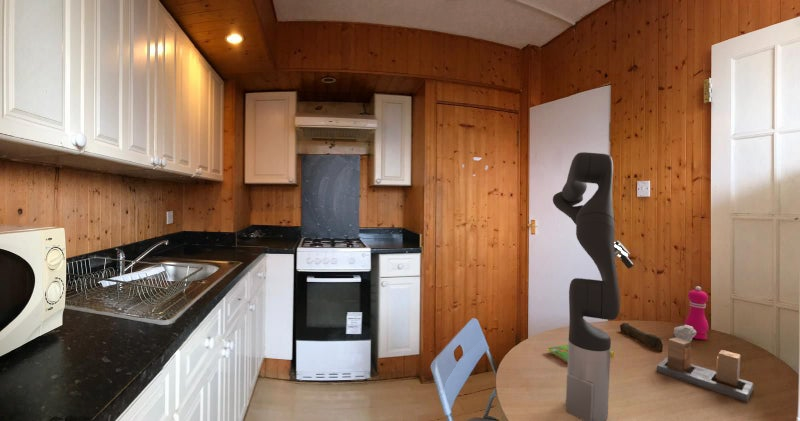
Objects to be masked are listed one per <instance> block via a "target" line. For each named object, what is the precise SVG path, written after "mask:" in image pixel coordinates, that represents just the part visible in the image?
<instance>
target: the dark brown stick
mask: <svg viewBox="0 0 800 421" xmlns="http://www.w3.org/2000/svg"><path fill="white" fill-rule="evenodd" d="M619 329H620V332H621V333H623V334H628V335H629V336H632V337H633V338H635V339H636V340H639V341H641V342H643V343H644V344H645V345H646V346H647V347H648V348H651V349H654V350H656V351H659V352H663V347H664V343H663V340H662V338H660V337H659V336H657V335H655V334H651V333H646V332H644V331H641V330H640V329H637V328H636V327H634V326H632V325H630V324H629V323H627V322H623V323H621V324H620V325H619Z"/></svg>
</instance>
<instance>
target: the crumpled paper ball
mask: <svg viewBox="0 0 800 421" xmlns="http://www.w3.org/2000/svg"><path fill="white" fill-rule="evenodd" d="M673 334H674V336H675V338H676V337H677V338H680V339H683V340H686V341H689V342H691V343H692V340H693V339H694V338H693V337H694V336H695V335H696V331H695V330H694V328H693V327H692V326H689V325H685V324H684V325H680V326H675V327H674V328H673Z"/></svg>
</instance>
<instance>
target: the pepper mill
mask: <svg viewBox="0 0 800 421" xmlns="http://www.w3.org/2000/svg"><path fill="white" fill-rule="evenodd" d="M687 298H688V300H689V303H688V304H689V306H690V311H689V312H688V313H689V314H688V316H687V317H686V318H685V320H684V325H689V326H692V327H693V328H694V330H695V331H696V335H695V336H694V337H693V338H692V339H696V340H707V338H708V337H707V333H706V332H708V331H709V327H710V326H709V322H708V320H707V317H706V315H705V308H706V307H707V304H706V302H708V301H709V296H708V294H707V293H706V292H705V291H702V287H701V286H698V285H697V286H695V289H692V290H690V291H689V292H688V294H687Z"/></svg>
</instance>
